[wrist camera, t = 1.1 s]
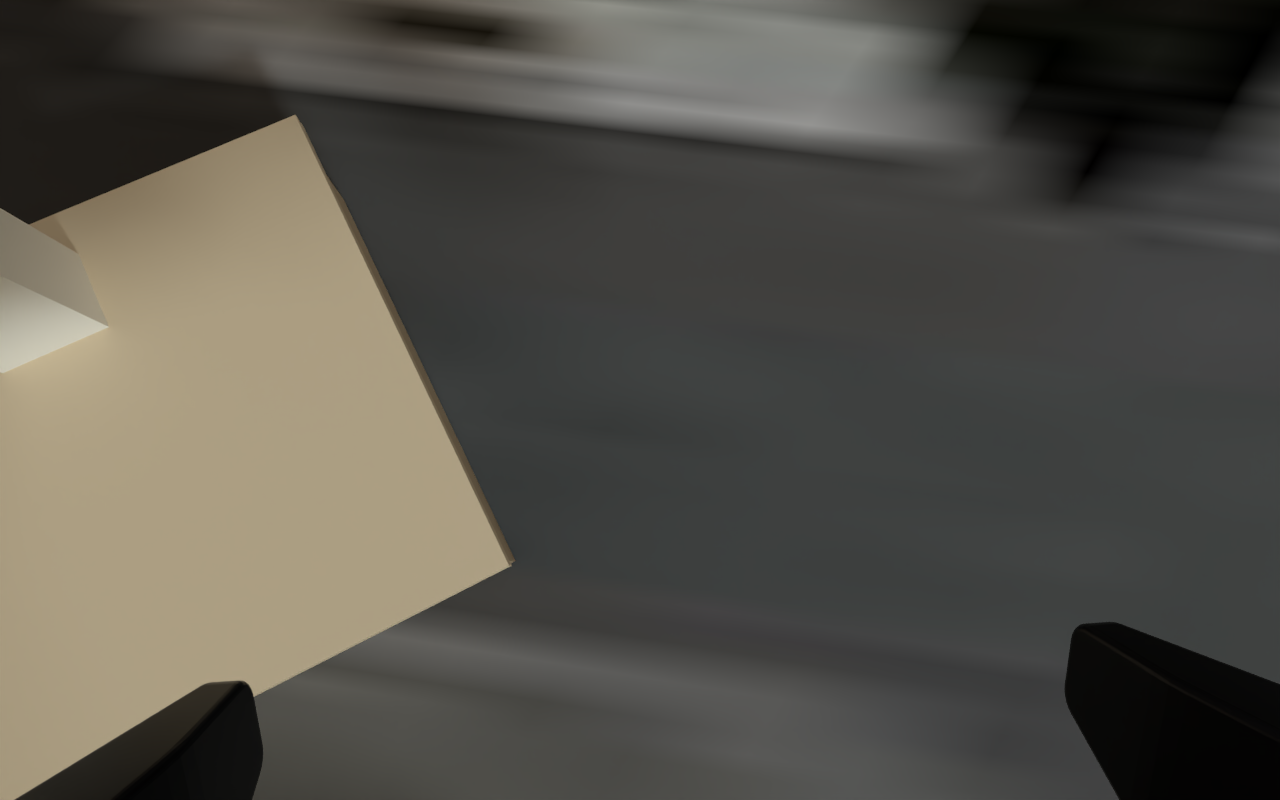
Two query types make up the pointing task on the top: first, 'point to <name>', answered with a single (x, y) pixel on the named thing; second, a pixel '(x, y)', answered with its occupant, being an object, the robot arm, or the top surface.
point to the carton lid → (206, 450)
